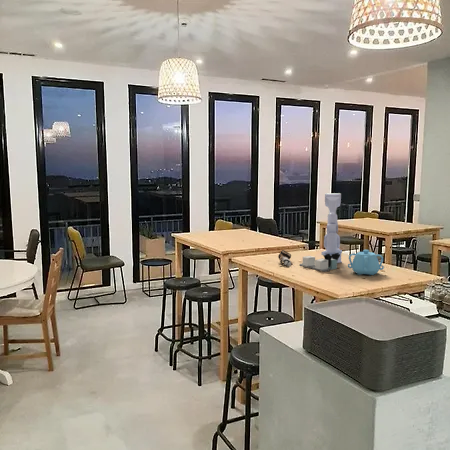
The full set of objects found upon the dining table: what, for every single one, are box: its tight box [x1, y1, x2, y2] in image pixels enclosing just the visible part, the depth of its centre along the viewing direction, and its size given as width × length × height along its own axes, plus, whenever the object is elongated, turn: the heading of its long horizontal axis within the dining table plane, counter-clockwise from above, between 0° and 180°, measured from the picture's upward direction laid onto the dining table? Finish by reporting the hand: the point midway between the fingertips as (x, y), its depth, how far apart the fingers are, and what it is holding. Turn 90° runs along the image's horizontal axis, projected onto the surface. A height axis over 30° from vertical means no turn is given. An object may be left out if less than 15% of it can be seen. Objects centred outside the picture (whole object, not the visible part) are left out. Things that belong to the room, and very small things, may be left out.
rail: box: [299, 262, 331, 273], centre depth 274 cm, size 5×22×1 cm, turn 30°
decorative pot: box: [347, 249, 385, 276], centre depth 258 cm, size 16×16×14 cm
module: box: [328, 258, 338, 271], centre depth 272 cm, size 4×5×6 cm
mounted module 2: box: [315, 258, 328, 270], centre depth 268 cm, size 6×4×5 cm
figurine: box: [277, 249, 293, 267], centre depth 286 cm, size 9×8×15 cm
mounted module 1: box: [302, 255, 316, 266], centre depth 278 cm, size 6×4×5 cm
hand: (331, 266), depth 272 cm, fingers closed on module, 4 cm apart
